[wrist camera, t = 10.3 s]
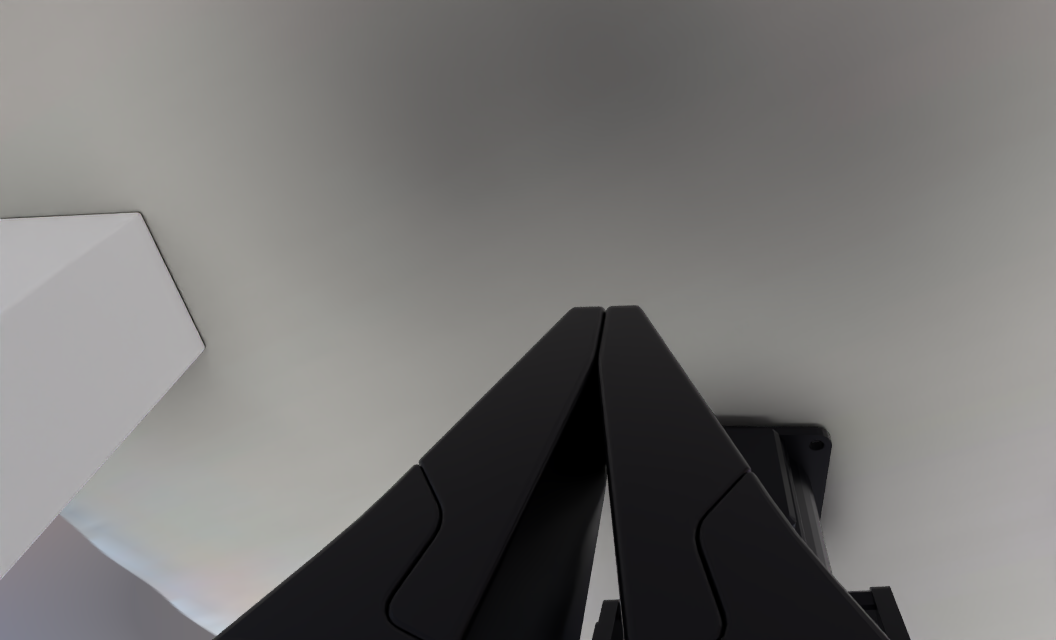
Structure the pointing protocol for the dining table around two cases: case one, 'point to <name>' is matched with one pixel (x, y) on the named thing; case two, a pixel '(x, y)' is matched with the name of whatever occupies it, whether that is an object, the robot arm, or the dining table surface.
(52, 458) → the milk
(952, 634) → the dining table surface
